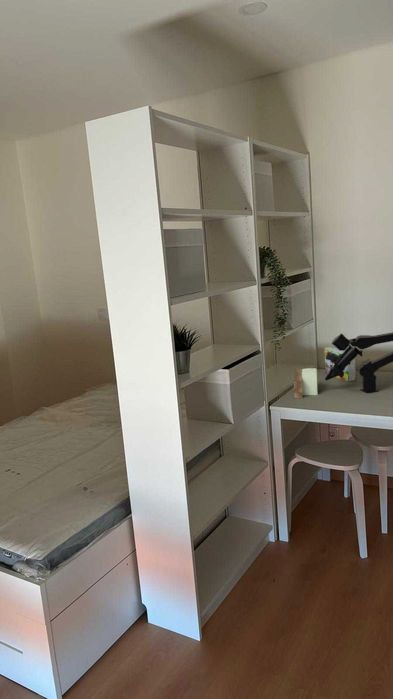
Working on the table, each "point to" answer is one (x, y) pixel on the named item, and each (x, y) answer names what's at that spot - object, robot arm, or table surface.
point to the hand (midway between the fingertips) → (325, 379)
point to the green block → (309, 381)
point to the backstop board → (298, 384)
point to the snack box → (349, 369)
